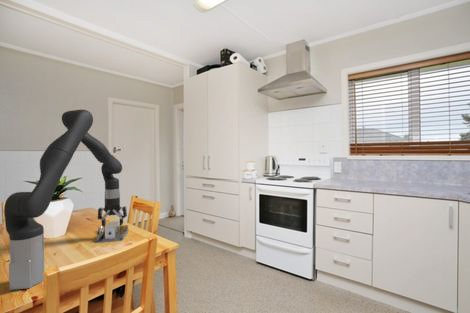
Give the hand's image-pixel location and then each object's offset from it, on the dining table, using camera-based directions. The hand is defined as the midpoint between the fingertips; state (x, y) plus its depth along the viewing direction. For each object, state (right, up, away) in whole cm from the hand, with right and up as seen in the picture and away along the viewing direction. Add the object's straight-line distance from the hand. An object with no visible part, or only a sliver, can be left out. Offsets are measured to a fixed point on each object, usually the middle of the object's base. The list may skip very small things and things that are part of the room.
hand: (112, 225), depth 127 cm
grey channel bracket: (0, -6, +1) cm, 6 cm away
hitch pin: (-11, -6, +7) cm, 14 cm away
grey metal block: (0, -6, 0) cm, 6 cm away
